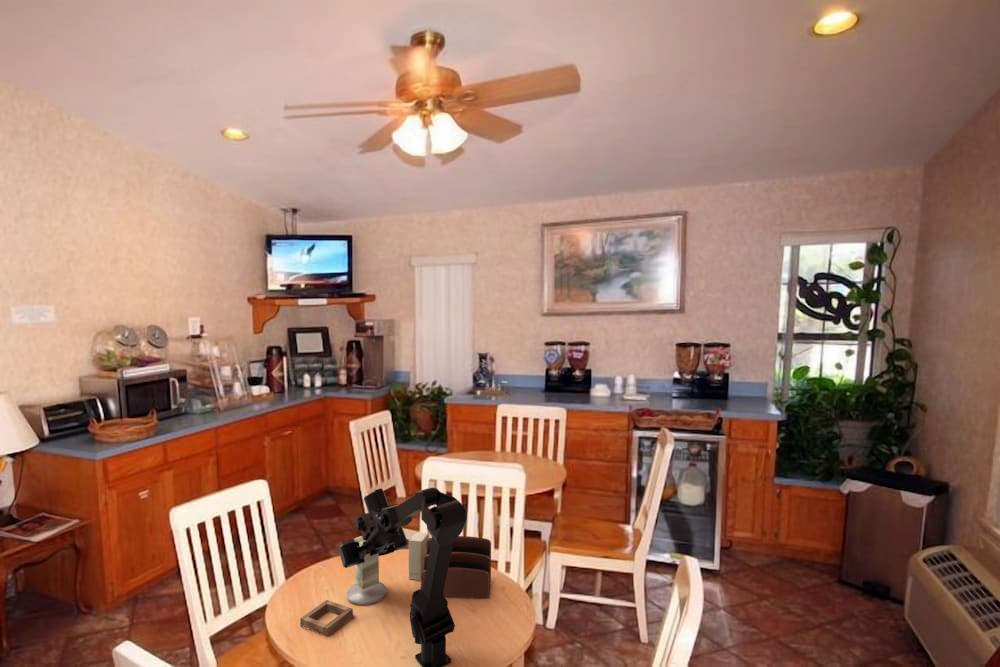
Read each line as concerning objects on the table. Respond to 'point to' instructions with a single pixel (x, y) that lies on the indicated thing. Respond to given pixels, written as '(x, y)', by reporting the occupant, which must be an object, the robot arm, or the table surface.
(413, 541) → the skincare box
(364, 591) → the coaster
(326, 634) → the pocket block
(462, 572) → the letter holder
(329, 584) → the table surface
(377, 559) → the tall khaki square post
